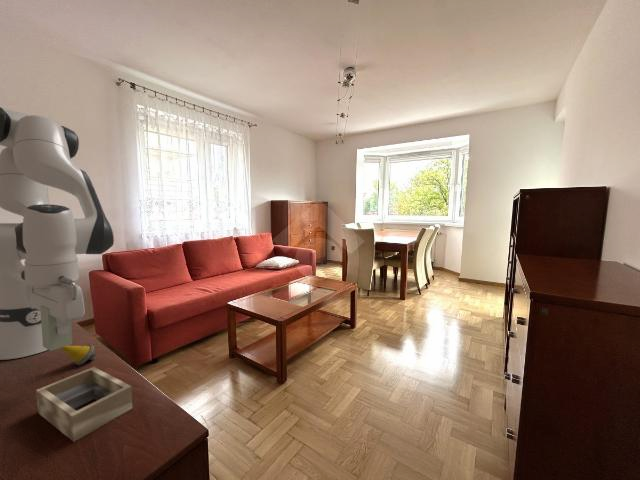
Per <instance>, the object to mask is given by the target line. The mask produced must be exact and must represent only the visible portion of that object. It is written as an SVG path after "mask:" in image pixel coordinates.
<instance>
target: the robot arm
mask: <svg viewBox="0 0 640 480" xmlns="http://www.w3.org/2000/svg"><path fill="white" fill-rule="evenodd" d="M0 146H2V147H5V148H4V149H2V150H1V151H0V208H1V209H3V210H4V211H7V212H9V213H12V214H15V215H18V216H20V217H23V219H22V220H23V221H22V222H21V223H20V222H19V223H14V222H13V223H11V222H10V223H8V222H7V223H5V222H4V223H3V222H0V360H1V361H3V360H12V359H14V360H15V359H19V358H24V357H29V356H32V355H37V354H40V353H43V352H46V351H49V350H48V349H46V348H44V347H43V341H42V327H41V312H40V306H43V307H46V308H48V309H49V315H51V316H53V317H55V318H56V321H57V326H56V327H55V328H56V333H57V334H59V335H62V334H65V333H67V332H68V325H69V322H70V321H71V322H72V321H76V320H79V319H82V318H83V317H84V316H85V314H86V310H85V301H84V296H83V295H84V294H83V290H82V288H81V286H80V285H78V284H76V283H75V281H77V280H79V279H80V273H79V272H80V271H79V258H78V255H84V254H85V255H102V254H104V253H106V252H107V251H108V250H109V249H110V248H112V247H113V246H114V244H115V243H114V242H115V234H114V230H113V228H112V226H111V223H110V222H109V220H108V218H107V215H106V214H105V212H104V210H103V207H102V203H101V202H100V200H99V197H98V195H97V192H96V189H95V187H94V185H93V183H92V180H91V178H90V176H89V175H88V174H87V172H86V171H84V170H83V169H81V168H79V167H78V166H77V165H76V164H74V162H73V161H72V159H73V158H75V156H76V155H77V153H78V151H79V149H80V140H79V137H78V135H77V133H76V132H75V131H74V130H72V129H70V128H69V127H67V126H66V127H65V126H63V125H59V124H58V123H56V122H55V121H53V120H52V119H50V118H48V117H46V116H43V115H32V114H31V115H28V114H25V113H21V112H17V111H13V110H9V109H5V108H3V107H0ZM49 187H50V188H55V189H58V190H61V191H64V192H66V193H67V194H68V193H69V194H71V195H73V196H74V197H75V198H76V199H77V200H78V203H79V204H80V208H81V209H82V213H83V215H84V217H83V218H74V215H73V211H72V210H71V208H69V207H67V206H64V205H57V204H50V198H49ZM22 260H24V264H23V262H22Z"/></svg>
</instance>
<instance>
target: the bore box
mask: <svg viewBox="0 0 640 480" xmlns="http://www.w3.org/2000/svg"><path fill="white" fill-rule="evenodd" d="M35 393H36V407H37V408H36V409H37V414H38V415H40V416H41V417H42V418H44V419H45V420H46V421H47V422H49V423H50V424H51V425H52V426H53V427H55V428H56V429H57V430H59V431H60V432H61V433H62V434H63V435H64V436H66V437H67V438H68V439H70V441H72V442H73V443H75V442H77V441H78V440H80V439H82V438H84V437H85V436H87V435H88V434H90V433H92V432H94V431H95V430H97V429H99V428H101V427H103V426H104V425H106V424H108V423H109V422H112V421H114V420H115V419H117V418H119V417H120V416H122V415H124V414H125V413H127V412H128V411H130V410H132V409H133V387H132V385H130V384H128V383H126V382H125V381H122V380H121V379H119V378H116V377H114V376H113V375H110V374H109V373H107V372H105V371H102V370H101V369H99V368H97V367H95V366H93V367H90V368H87V369H85V370H83V371H80V372H78V373H75V374H72V375H70V376H68V377H65V378H63V379H60V380H57V381H55V382H53V383H50V384H48V385H46V386H43V387H41V388H38V389H36V390H35ZM92 400H96V401H94V402H92V403H89V402H91V401H92ZM87 403H89V404H88V405H86V406H84V407H82V408H80V409H78V410H76V409H77V408H78V407H80V406H83V405H85V404H87ZM76 440H77V441H76Z"/></svg>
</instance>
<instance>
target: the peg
mask: <svg viewBox="0 0 640 480" xmlns="http://www.w3.org/2000/svg"><path fill="white" fill-rule="evenodd" d="M40 312H41V327H42V341H43V347H44V348H46V349H48V350H47V351H49V352H51V351H54V350H57V349H62V348H61V347H64V346H71V345H72V344H73V334H72V333H73V332H72V331H73V329H72V321H70V322H69V325H68V332H67V333H65V334H62V335H59V334H57V333H56V328H55V327H56V326H57V321H56V318H55V317H53V316H51V315H49V309H48V308H46V307H43V306H40Z"/></svg>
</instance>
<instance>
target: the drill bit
mask: <svg viewBox="0 0 640 480" xmlns="http://www.w3.org/2000/svg"><path fill="white" fill-rule="evenodd" d="M60 349H62V350H63V351H64V352H65V353H66V354H67V355H68V356H69V357H70V358H71V360H73V361H74V362H73V363H74V365H77V366H82V365H83V364H85V363H86V362H87V361H88V360H89V361H90V360H91V361H93V360H96V356H97V354H96V353H94V351H95V346H94V345H92V344H88V345H67V346H64V347H61V348H60Z"/></svg>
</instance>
